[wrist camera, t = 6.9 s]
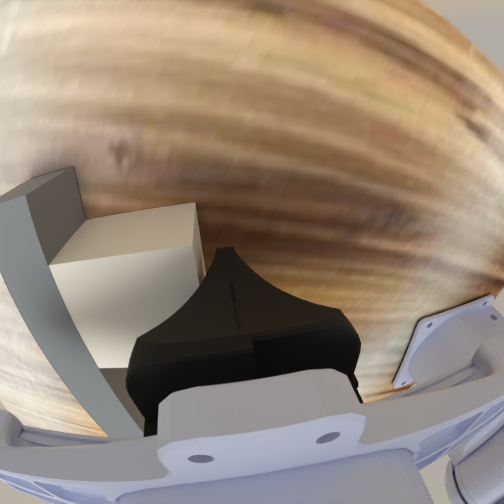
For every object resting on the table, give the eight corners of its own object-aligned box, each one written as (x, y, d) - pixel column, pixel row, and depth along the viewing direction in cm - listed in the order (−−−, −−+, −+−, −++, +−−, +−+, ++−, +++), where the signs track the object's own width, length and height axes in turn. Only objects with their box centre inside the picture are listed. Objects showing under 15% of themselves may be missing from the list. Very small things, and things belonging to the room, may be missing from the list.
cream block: (195, 202, 12) (192, 245, 8) (210, 299, 14) (215, 360, 11) (86, 219, 11) (48, 265, 8) (116, 309, 14) (98, 368, 10)
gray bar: (73, 166, 10) (25, 195, 7) (159, 402, 18) (157, 450, 14) (30, 179, 10) (-22, 210, 6) (127, 402, 18) (121, 449, 14)
